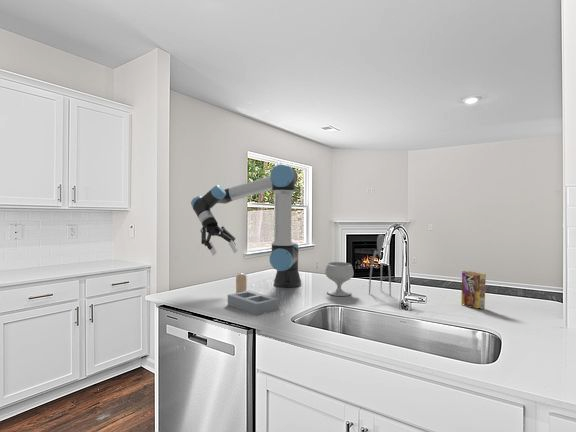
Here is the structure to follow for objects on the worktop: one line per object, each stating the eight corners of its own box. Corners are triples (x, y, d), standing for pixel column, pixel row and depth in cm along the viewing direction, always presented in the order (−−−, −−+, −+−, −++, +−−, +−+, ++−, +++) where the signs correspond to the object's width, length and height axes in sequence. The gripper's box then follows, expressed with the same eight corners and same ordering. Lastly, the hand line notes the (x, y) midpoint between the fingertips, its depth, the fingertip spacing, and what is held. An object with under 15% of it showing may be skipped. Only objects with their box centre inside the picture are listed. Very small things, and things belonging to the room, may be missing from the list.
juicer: (384, 297, 172) (385, 235, 171) (368, 293, 179) (370, 234, 178) (396, 294, 179) (397, 234, 178) (380, 290, 186) (382, 233, 185)
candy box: (485, 308, 155) (486, 273, 154) (478, 309, 153) (479, 274, 152) (467, 303, 163) (468, 270, 162) (460, 304, 161) (461, 271, 160)
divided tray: (249, 300, 164) (249, 290, 164) (278, 309, 150) (278, 299, 150) (227, 305, 156) (227, 294, 156) (256, 315, 142) (256, 304, 141)
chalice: (322, 295, 174) (323, 265, 173) (327, 289, 187) (328, 261, 187) (351, 298, 170) (352, 267, 169) (354, 291, 183) (355, 262, 183)
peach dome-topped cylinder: (242, 294, 176) (242, 271, 175) (248, 295, 172) (248, 273, 172) (233, 295, 172) (234, 273, 172) (240, 297, 169) (240, 274, 168)
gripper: (223, 225, 199) (240, 255, 190) (184, 226, 180) (201, 259, 171) (230, 216, 196) (247, 246, 186) (190, 216, 177) (208, 249, 167)
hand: (225, 252), depth 179 cm, fingers open, 13 cm apart
